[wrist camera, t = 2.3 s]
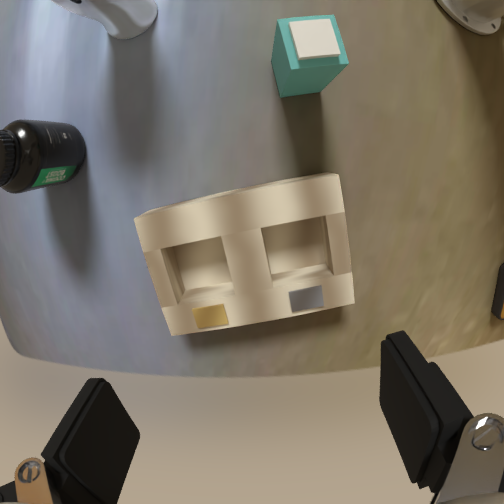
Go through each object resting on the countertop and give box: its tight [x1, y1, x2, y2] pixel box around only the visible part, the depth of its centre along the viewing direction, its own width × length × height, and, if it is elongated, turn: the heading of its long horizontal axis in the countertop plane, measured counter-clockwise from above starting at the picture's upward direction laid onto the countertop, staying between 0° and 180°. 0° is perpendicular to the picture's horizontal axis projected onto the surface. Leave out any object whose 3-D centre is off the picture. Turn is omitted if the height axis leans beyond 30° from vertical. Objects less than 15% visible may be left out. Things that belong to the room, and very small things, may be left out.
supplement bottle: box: [0, 120, 85, 193], centre depth 23 cm, size 7×7×12 cm
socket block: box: [134, 172, 354, 336], centre depth 29 cm, size 18×12×5 cm, turn 102°
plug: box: [271, 15, 349, 98], centre depth 21 cm, size 4×4×11 cm
